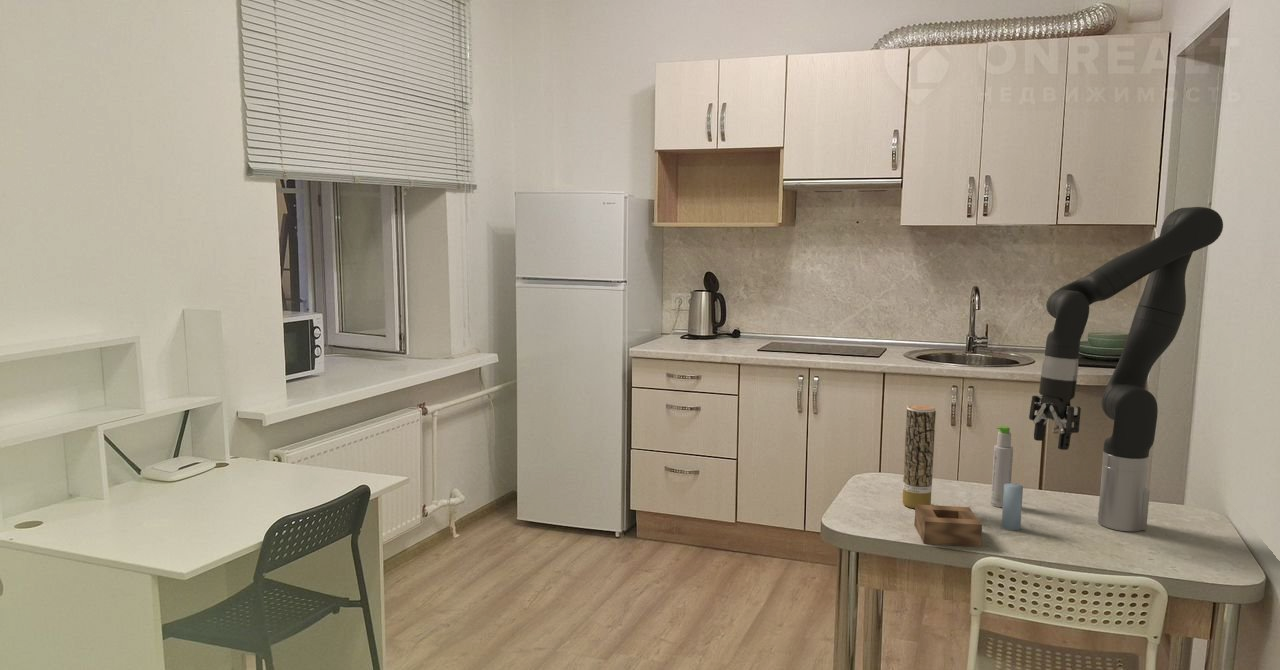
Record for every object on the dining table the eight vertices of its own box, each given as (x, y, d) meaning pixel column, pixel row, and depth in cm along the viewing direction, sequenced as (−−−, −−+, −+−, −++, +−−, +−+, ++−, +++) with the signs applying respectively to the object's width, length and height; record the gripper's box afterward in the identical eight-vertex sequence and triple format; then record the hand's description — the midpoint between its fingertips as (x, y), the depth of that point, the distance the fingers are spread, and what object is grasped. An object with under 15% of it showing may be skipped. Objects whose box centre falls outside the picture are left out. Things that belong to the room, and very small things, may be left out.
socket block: (967, 528, 198) (969, 507, 198) (980, 546, 187) (982, 524, 186) (914, 525, 200) (915, 504, 200) (923, 543, 188) (924, 521, 188)
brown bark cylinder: (934, 510, 211) (939, 410, 208) (906, 509, 211) (911, 410, 208) (925, 501, 218) (930, 404, 215) (898, 501, 218) (903, 404, 215)
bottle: (989, 501, 218) (993, 424, 216) (1007, 503, 217) (1012, 425, 215) (992, 507, 214) (997, 428, 211) (1011, 508, 213) (1016, 429, 210)
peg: (1017, 525, 201) (1020, 483, 199) (1022, 531, 197) (1025, 488, 196) (999, 524, 201) (1002, 482, 200) (1004, 530, 197) (1006, 488, 196)
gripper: (1095, 382, 192) (1086, 452, 194) (1052, 371, 206) (1044, 437, 208) (1065, 381, 191) (1056, 452, 192) (1024, 370, 204) (1017, 437, 206)
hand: (1050, 444), depth 200 cm, fingers open, 8 cm apart
